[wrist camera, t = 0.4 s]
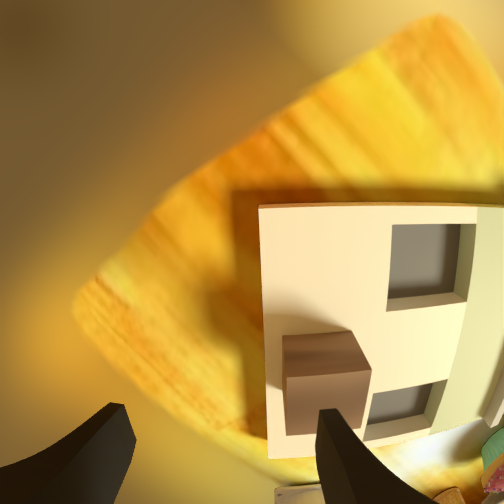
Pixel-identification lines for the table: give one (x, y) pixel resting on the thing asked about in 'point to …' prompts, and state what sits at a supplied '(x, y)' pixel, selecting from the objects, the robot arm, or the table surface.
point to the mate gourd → (494, 498)
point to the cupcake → (493, 463)
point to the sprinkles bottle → (450, 497)
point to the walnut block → (323, 379)
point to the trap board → (390, 309)
